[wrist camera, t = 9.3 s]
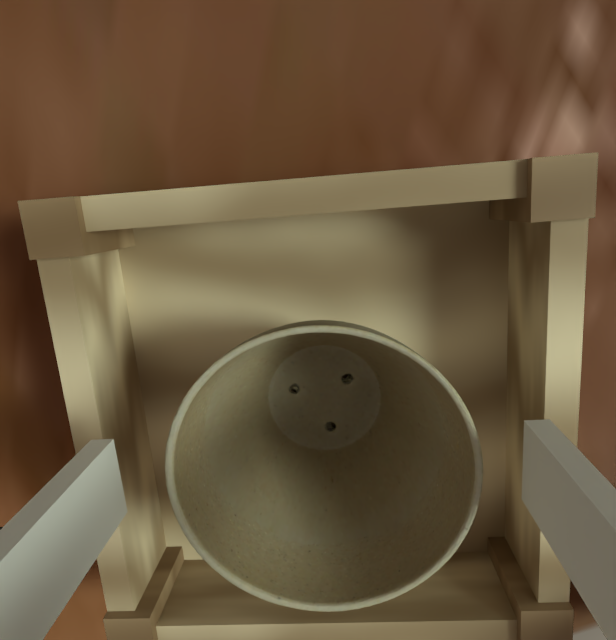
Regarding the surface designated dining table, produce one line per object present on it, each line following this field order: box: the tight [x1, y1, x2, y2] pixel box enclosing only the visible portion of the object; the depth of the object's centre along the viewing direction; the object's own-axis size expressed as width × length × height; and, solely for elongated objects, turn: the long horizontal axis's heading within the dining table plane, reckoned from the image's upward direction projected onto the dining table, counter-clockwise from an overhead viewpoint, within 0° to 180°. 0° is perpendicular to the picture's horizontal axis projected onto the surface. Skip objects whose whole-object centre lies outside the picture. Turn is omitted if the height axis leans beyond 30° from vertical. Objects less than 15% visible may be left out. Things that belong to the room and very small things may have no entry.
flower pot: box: [165, 320, 483, 612], centre depth 19 cm, size 10×10×7 cm
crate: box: [18, 153, 598, 640], centre depth 21 cm, size 19×19×5 cm
